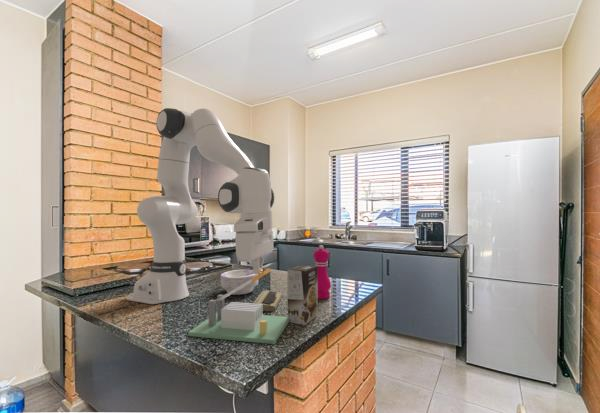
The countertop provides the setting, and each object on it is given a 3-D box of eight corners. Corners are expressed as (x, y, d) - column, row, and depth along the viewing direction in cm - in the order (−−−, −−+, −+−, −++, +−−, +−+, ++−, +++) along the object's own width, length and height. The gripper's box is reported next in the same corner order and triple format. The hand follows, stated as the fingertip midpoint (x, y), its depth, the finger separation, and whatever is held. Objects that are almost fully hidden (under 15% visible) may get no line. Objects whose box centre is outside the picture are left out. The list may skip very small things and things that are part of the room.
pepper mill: (309, 298, 110) (309, 245, 110) (315, 293, 116) (315, 243, 117) (327, 300, 107) (327, 246, 107) (333, 295, 114) (332, 244, 114)
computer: (275, 312, 96) (275, 302, 96) (251, 312, 96) (251, 302, 96) (282, 298, 111) (282, 289, 111) (261, 298, 112) (261, 289, 112)
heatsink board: (188, 335, 77) (188, 305, 77) (217, 314, 93) (217, 289, 93) (274, 344, 72) (274, 311, 72) (290, 320, 88) (290, 293, 88)
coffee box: (305, 326, 84) (305, 271, 84) (286, 322, 87) (286, 269, 87) (318, 316, 92) (318, 265, 92) (300, 313, 95) (300, 264, 95)
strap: (211, 306, 82) (209, 303, 82) (220, 301, 87) (218, 297, 87) (265, 275, 79) (263, 271, 79) (270, 271, 83) (268, 267, 84)
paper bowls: (213, 292, 118) (213, 273, 118) (242, 285, 130) (242, 267, 130) (236, 300, 108) (236, 278, 108) (266, 291, 120) (265, 272, 120)
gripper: (258, 222, 93) (260, 266, 92) (230, 225, 73) (231, 280, 72) (277, 222, 91) (279, 266, 91) (254, 224, 71) (255, 281, 71)
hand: (257, 272), depth 81 cm, fingers closed, pressing on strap
